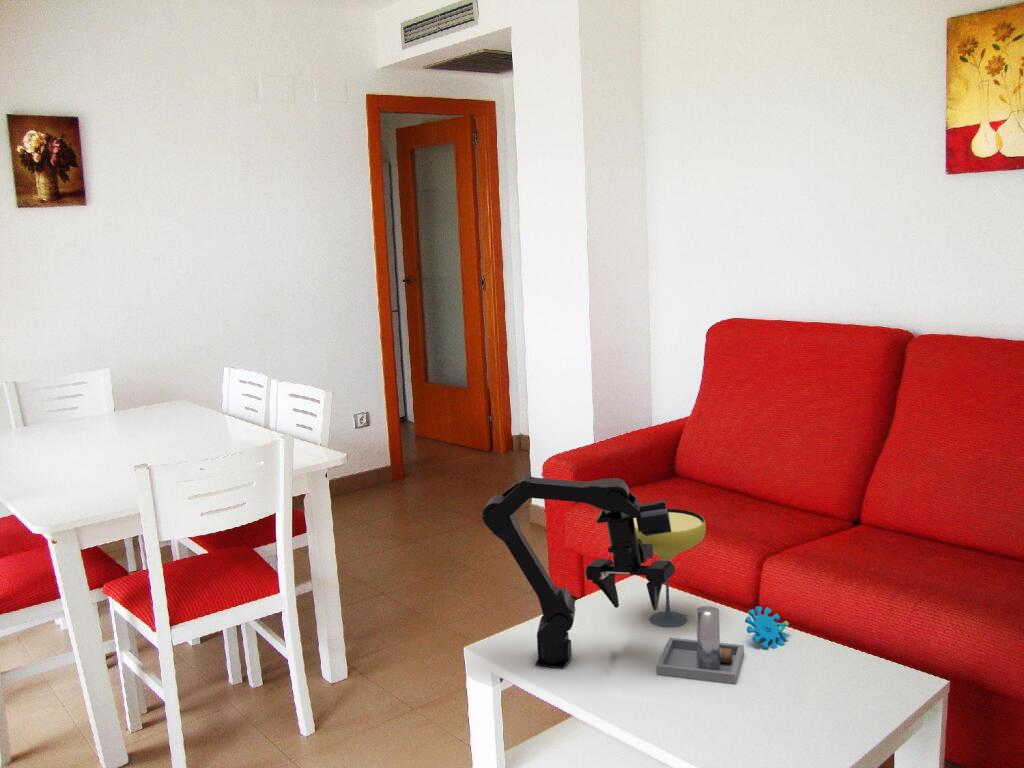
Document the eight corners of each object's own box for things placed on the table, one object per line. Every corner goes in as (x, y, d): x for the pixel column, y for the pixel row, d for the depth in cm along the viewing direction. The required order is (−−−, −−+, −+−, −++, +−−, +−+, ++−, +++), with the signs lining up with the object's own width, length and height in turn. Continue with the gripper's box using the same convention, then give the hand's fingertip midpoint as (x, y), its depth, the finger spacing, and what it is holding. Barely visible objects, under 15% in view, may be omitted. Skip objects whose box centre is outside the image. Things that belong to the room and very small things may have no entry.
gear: (758, 649, 204) (741, 606, 209) (744, 660, 208) (728, 617, 214) (799, 645, 208) (782, 603, 214) (785, 656, 212) (768, 614, 218)
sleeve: (701, 675, 196) (700, 616, 194) (694, 665, 200) (693, 607, 198) (723, 673, 196) (722, 614, 194) (716, 663, 201) (715, 605, 198)
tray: (656, 677, 197) (656, 665, 197) (669, 648, 210) (669, 637, 210) (735, 686, 192) (735, 674, 191) (743, 656, 204) (743, 645, 204)
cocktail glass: (669, 600, 236) (667, 503, 232) (723, 623, 221) (722, 520, 217) (613, 620, 226) (610, 519, 222) (666, 645, 211) (664, 538, 207)
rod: (698, 661, 203) (696, 658, 201) (699, 647, 205) (697, 644, 202) (731, 665, 201) (729, 662, 198) (732, 650, 202) (730, 647, 200)
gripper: (679, 525, 201) (691, 595, 203) (602, 525, 212) (614, 591, 214) (657, 544, 192) (670, 617, 194) (578, 543, 203) (591, 611, 205)
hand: (636, 608), depth 202 cm, fingers open, 9 cm apart
